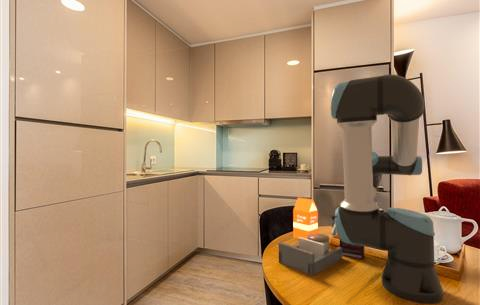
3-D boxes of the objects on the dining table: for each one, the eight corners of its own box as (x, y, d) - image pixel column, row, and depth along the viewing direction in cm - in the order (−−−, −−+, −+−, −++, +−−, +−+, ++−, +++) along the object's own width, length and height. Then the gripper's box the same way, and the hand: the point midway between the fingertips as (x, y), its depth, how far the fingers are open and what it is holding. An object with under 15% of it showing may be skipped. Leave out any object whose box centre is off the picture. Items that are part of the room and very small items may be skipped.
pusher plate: (324, 263, 88) (324, 244, 88) (322, 264, 87) (322, 244, 88) (300, 254, 96) (300, 237, 96) (298, 255, 95) (298, 237, 95)
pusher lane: (342, 260, 93) (342, 240, 94) (312, 279, 80) (311, 254, 80) (310, 250, 104) (310, 231, 104) (278, 264, 90) (278, 243, 90)
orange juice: (309, 244, 111) (308, 200, 112) (293, 239, 118) (292, 198, 118) (318, 240, 117) (317, 198, 117) (302, 236, 123) (302, 196, 124)
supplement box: (364, 257, 96) (364, 217, 97) (363, 262, 92) (362, 220, 93) (341, 253, 101) (341, 214, 101) (339, 257, 97) (338, 217, 97)
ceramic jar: (333, 257, 95) (333, 236, 95) (322, 263, 89) (322, 241, 89) (314, 251, 101) (314, 232, 101) (303, 256, 95) (303, 236, 96)
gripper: (399, 206, 98) (387, 253, 88) (339, 198, 117) (323, 236, 106) (395, 194, 95) (381, 242, 84) (334, 188, 113) (316, 226, 103)
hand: (349, 239), depth 95 cm, fingers open, 13 cm apart
